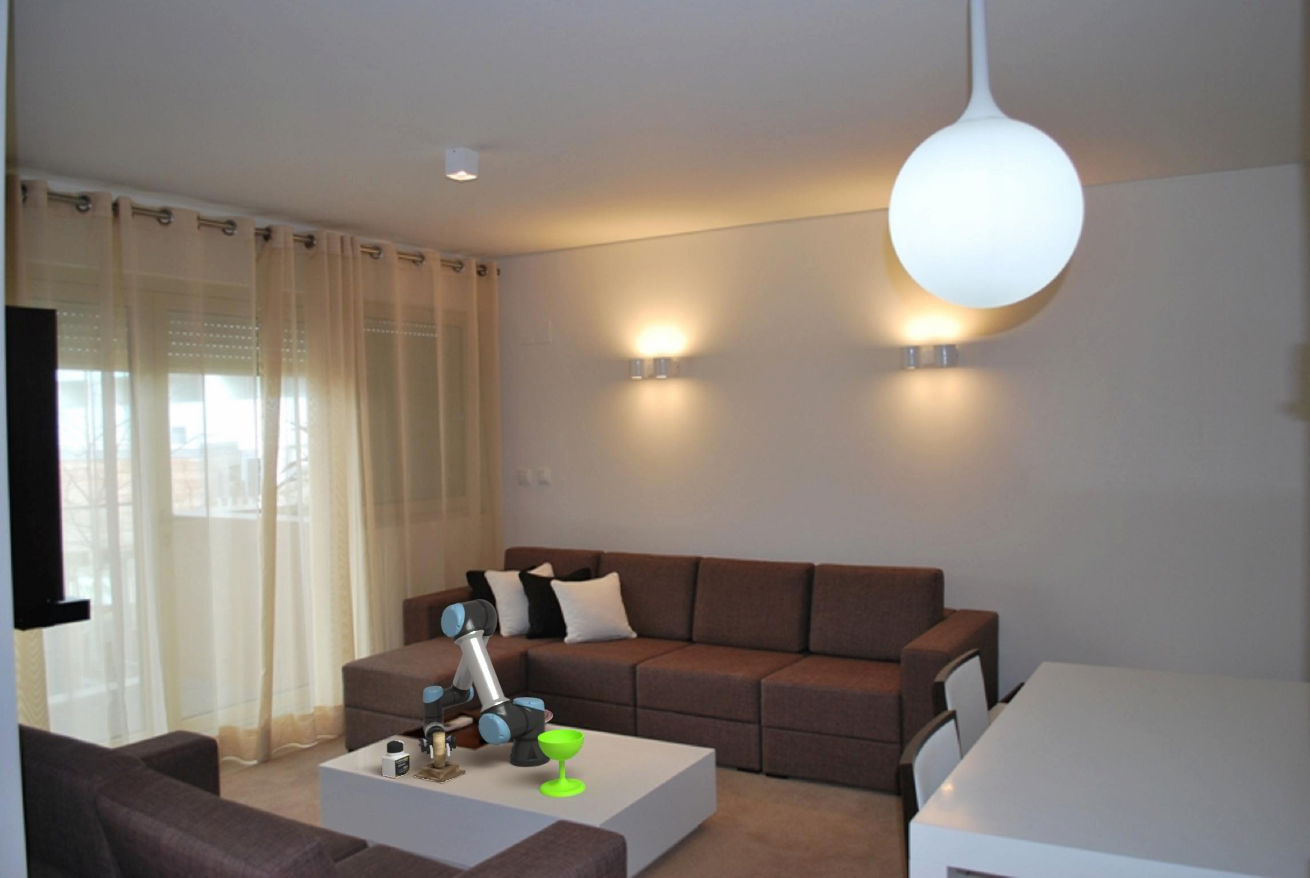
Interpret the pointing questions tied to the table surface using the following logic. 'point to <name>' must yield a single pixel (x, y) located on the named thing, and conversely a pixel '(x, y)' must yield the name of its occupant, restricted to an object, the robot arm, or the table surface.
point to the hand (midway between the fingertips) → (440, 753)
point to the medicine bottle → (395, 760)
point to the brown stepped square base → (440, 772)
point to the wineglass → (561, 760)
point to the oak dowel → (439, 750)
